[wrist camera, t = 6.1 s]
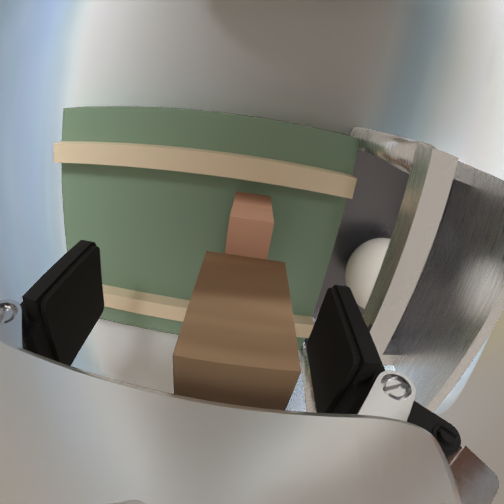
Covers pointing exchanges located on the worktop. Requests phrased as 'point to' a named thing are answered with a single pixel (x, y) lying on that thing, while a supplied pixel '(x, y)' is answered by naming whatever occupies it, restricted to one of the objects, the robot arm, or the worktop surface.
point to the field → (197, 201)
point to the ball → (365, 268)
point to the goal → (422, 260)
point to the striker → (240, 319)
